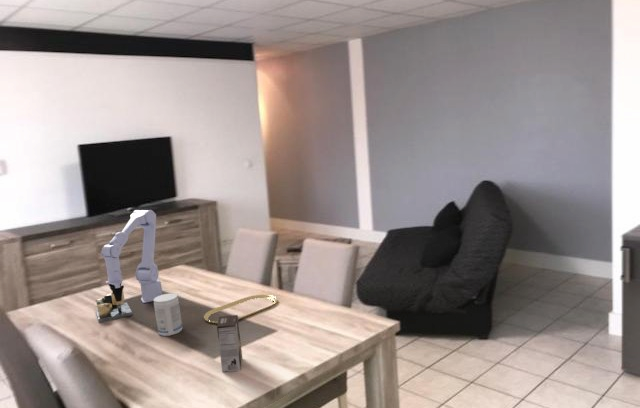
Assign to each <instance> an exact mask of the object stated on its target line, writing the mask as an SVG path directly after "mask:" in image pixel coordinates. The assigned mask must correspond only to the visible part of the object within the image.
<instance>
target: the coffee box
mask: <svg viewBox="0 0 640 408" xmlns="http://www.w3.org/2000/svg"><path fill="white" fill-rule="evenodd" d="M238 318H239V316H238V314H235V315H223V316H219V317H218V321H217V322H218V324H216V330H217V338H218V346H219V354H220V356H219V357H220V364H221V373H226V372H225V371H229V372H234V371H235V372H236V371H237V372H238V371H241V370H242V363H243V352H242V351H243V350H242V343H241V335H240V325H239V320H238Z"/></svg>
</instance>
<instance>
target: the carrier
mask: <svg viewBox="0 0 640 408" xmlns="http://www.w3.org/2000/svg"><path fill="white" fill-rule="evenodd" d="M96 307H97V308H95V309H94V311H95V315H96V318H97V321H98V323H104V321H105V322H109V321H112V320H117V319H120V318H121V319H122V318H126V317H129V316H133V311H132V309H131V308H130V306H129V303H128V302H127V301H125V303H123V304H120V305H116V306H112V303H103V304H100V305H98V306H97V305H96ZM108 320H109V321H108Z"/></svg>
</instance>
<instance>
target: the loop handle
mask: <svg viewBox="0 0 640 408" xmlns="http://www.w3.org/2000/svg"><path fill="white" fill-rule="evenodd" d="M255 298H256V299H255ZM257 298H267V299H266V300H270V299H271V301H272V300H273V301H274V304H273V303H272V304H271V305H268V306H265V307H263V308H260V309H258V310H255V311H253V312H250V313H248V314H246V315H242V316H239V317H238V321H240V320H242V319H245V318H248V317H250V316H252V314H253V315H255V314H258V313H259V312H262V311H266V310H267V309H271V308H272V307H273V306H275V305H276V304H277V302H278V299H277V297H276V296H273V295H269V294H259V295H258V294H256V295H249V296H246V297H244V298H243V297H242V298H240V299H238V300H235V301H232V302H229V303H226V304H224V305H221V306H219V307H216V308H213V309H211V310H209V311H207V312H205V314H204V315H203V319H204V320H205V321H206V322H207V323H210V324H214V323H215V325H218V321H212V320H209V317H210V316H212V315H213V314H215V313H219V312H221V311H223V310H227V309H229V308H231V307H234V306H237V305H240V304H242V303H245V302H244V301H246V302H248V301H247V300H249V301H251V300H250V299H253V300H258V299H257ZM273 301H272V302H273ZM239 303H240V304H239ZM236 304H237V305H236ZM257 312H258V313H257ZM211 314H212V315H211ZM247 316H248V317H247ZM208 320H209V321H208Z"/></svg>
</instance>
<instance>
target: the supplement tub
mask: <svg viewBox="0 0 640 408" xmlns="http://www.w3.org/2000/svg"><path fill="white" fill-rule="evenodd" d="M153 307H154V314H155V320H156V327H157V332H158V334H159V335H160V336H163V337H169V336H174V335H176V334H179V333H180V332H182V330H183V322H182V315H181V308H180V303H179V297H178V294H176V293H163V295H160V296H158V297H156V298H154V301H153Z"/></svg>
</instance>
